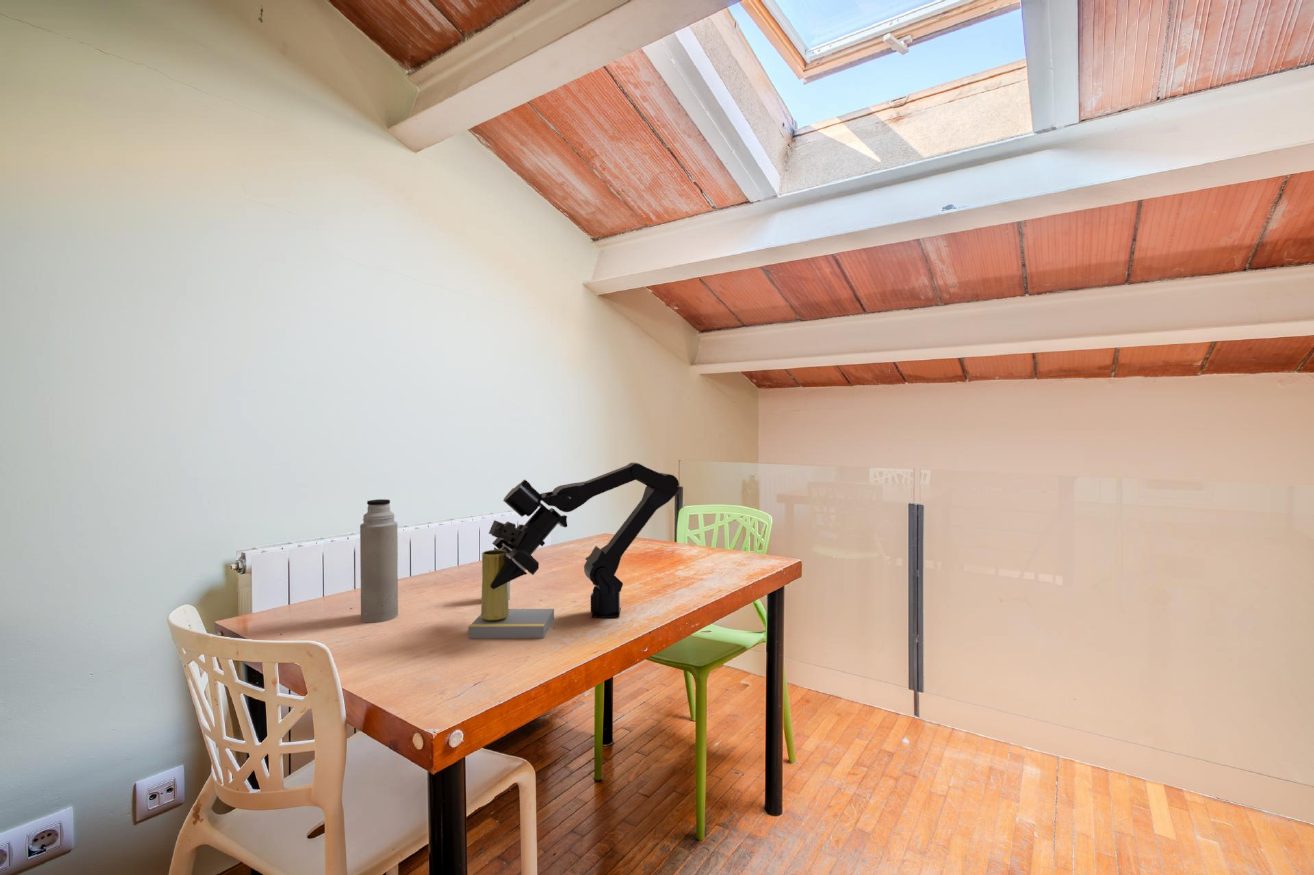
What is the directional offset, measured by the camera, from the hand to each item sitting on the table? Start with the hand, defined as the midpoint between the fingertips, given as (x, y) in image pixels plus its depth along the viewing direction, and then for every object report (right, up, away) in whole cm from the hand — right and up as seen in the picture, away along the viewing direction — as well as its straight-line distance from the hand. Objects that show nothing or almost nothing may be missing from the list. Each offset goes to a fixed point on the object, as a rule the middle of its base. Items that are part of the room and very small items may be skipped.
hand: (488, 584), depth 124 cm
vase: (+1, -7, +1) cm, 8 cm away
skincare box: (-5, -10, +24) cm, 26 cm away
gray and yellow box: (+5, -10, +2) cm, 12 cm away
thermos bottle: (-29, -10, +10) cm, 32 cm away
